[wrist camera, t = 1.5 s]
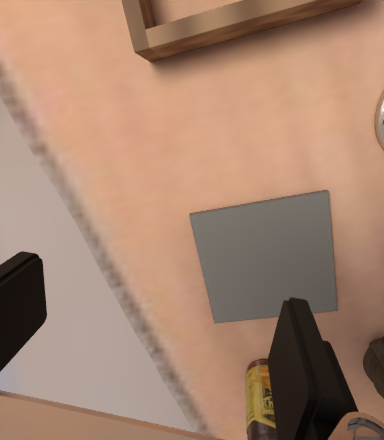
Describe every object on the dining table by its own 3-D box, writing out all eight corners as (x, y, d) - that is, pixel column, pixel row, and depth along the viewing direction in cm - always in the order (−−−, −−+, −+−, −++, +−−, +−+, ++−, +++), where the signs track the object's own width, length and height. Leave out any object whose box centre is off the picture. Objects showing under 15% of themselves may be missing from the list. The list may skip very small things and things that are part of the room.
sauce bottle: (291, 371, 48) (330, 532, 30) (265, 391, 50) (285, 553, 32) (260, 349, 47) (281, 500, 29) (235, 370, 50) (239, 524, 31)
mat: (326, 189, 38) (328, 191, 37) (335, 307, 43) (337, 310, 43) (189, 213, 41) (189, 215, 40) (214, 320, 47) (214, 323, 46)
